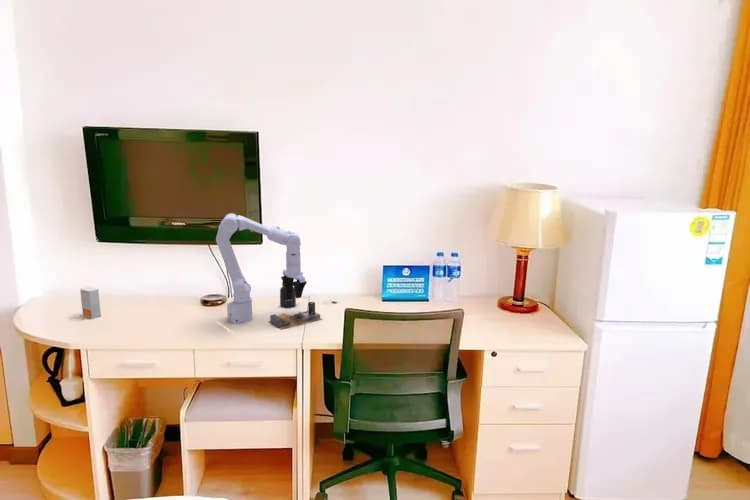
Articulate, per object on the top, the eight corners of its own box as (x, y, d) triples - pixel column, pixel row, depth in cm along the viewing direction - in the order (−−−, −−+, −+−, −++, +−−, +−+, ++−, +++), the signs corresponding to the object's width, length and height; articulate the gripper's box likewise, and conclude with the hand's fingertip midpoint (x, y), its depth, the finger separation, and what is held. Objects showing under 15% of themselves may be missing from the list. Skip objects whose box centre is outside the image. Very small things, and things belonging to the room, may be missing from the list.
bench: (280, 332, 218) (280, 321, 217) (267, 323, 226) (267, 313, 225) (323, 321, 229) (323, 311, 228) (309, 314, 238) (308, 304, 237)
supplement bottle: (287, 311, 241) (287, 284, 238) (276, 307, 245) (276, 281, 242) (299, 307, 246) (298, 281, 243) (288, 304, 250) (287, 278, 247)
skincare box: (82, 316, 230) (79, 288, 228) (91, 313, 234) (89, 286, 231) (92, 319, 228) (89, 291, 225) (101, 316, 231) (98, 288, 228)
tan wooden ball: (281, 325, 221) (281, 316, 220) (276, 322, 224) (276, 313, 224) (290, 323, 224) (290, 314, 223) (285, 320, 227) (285, 311, 226)
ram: (303, 320, 227) (303, 306, 226) (298, 317, 230) (298, 304, 229) (318, 316, 232) (318, 303, 230) (313, 313, 235) (313, 300, 233)
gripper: (311, 265, 223) (311, 298, 226) (292, 258, 234) (293, 289, 237) (295, 268, 219) (296, 301, 222) (277, 260, 230) (278, 292, 233)
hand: (293, 295), depth 229 cm, fingers open, 7 cm apart
